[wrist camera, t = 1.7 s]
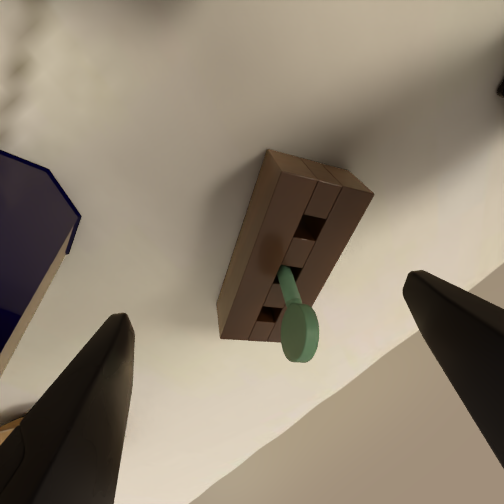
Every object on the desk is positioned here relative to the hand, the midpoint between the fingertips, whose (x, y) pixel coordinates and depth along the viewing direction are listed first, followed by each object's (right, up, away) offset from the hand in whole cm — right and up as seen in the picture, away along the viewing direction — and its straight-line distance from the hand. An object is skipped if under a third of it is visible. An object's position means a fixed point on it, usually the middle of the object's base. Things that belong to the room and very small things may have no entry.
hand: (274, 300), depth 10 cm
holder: (+1, +2, +16) cm, 16 cm away
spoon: (+1, +2, +16) cm, 16 cm away
